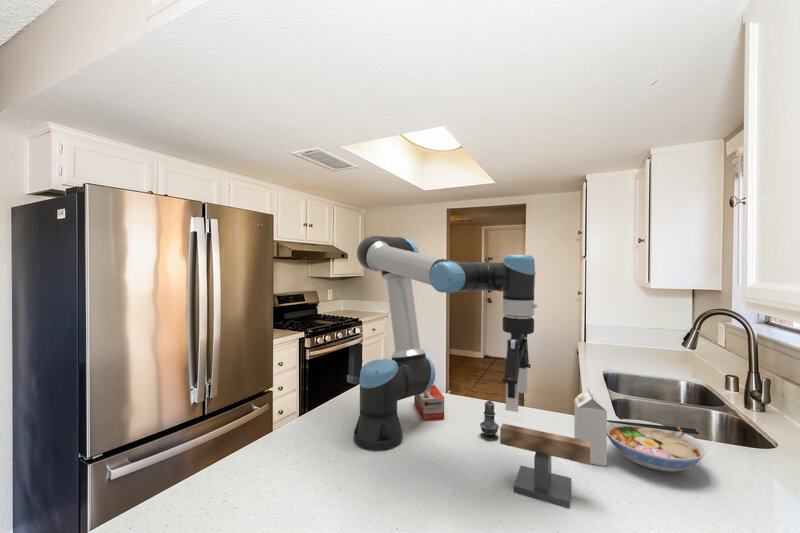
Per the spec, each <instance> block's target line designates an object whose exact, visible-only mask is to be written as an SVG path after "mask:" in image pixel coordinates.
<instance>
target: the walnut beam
mask: <svg viewBox="0 0 800 533" xmlns="http://www.w3.org/2000/svg"><path fill="white" fill-rule="evenodd" d="M499 428H500V430H499V431H500V432H499V433H500V434H499V439H500V440H499V443H500V445H503V446H506V447H507V446H508V447H512V448H515V449H521V450H525V451H530V452H533V453H536V452H537V453H541V454H546V455H550V456H551V457H555V458H559V459H564V460H568V461H572V462H576V463H581V464H585V465H588V466H590V465H591V464H590V441H585V440H581V439H576V438H574V437H570V436H565V435H561V434H556V433H551V432H545V431H541V430H538V429H532V428H527V427H524V426H523V427H522V426H517V425H513V424H509V423H508V424H507V423H502V424H501V426H500V427H499Z"/></svg>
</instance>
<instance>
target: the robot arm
mask: <svg viewBox="0 0 800 533" xmlns="http://www.w3.org/2000/svg"><path fill="white" fill-rule="evenodd" d="M356 258H357V260H358V262H359V264H360V265H361V266H362V267H363V268H364V269H367V270H371V271H374V272H380V273H381V277H382V279H384V280H385V281H386V286H387V293H388V294H387V295H388V302H389V310H390V317H391V328H392V335H393V344H394V352H393V353H392V355H391V359H389V358H382V359H374V360H371V361H368V362H367V363H365V364H364V365H363V366H362V367H361V369H360V372H359V380H358V382H359V414H358V418H357V421H356V425H355V427H354V431H353V442H354V444H355V445H356V446H357V447H359V448H361V449H363V450H367V451H375V452H376V451H377V452H378V451H379V452H380V451H388V450H391V449H393V448H396V447H398V446H399V445H401V443H402V442H403V439H404V438H403V436H404V435H403V433H404V432H403V428H402V424H401V422H400V421H401V420H400V419H399V414H398V401H401V400H404V399H407V398H411V397H414V395H420V394H422V393H423V392H426V391H428V390H429V389H430V388H431V386H432V385H434V383H435V381H436V380H435V379H436V369H435V365H434V362H432V360H431V359H430V358H429V357H427V355H426V351H425V350H424V349H423V348H421V343H420V337H419V336H420V334H419V328H418V321H417V313H416V305H415V296H414V291H413V282H412V281H413V280H414V281H417V282H419V283H420V282H421V283H423V284H425V285H429V286H431V287H432V288H434V289H435V291H436V292H439V293H445V294H454V293H462V292H464V293H465V292H478V291H479V292H480V291H482V292H483V291H490V292H493V291H494V292H502V314H503V315H504V316H503V317H502V330H503V332H505V333H509V334H510V335H511V336H510V339H509V338H508V339H507V342H506V343H507V348H506V350H507V351H506V360H505V370H504V376H503V377H504V378H502V383H504V384H505V411H509V412H515V413H519V393H520V394H525V395H526V394H527V393H528V369H531V366H532V365H531V363H530V359H529V358H530V357H529V347H528V335H531V334H533V333H534V332H535V318H534V317H533V316H534V315H535V309H537V307H538V305H537V304H536V303H535V286H536V284H535V283H536V282H535V280H536V278H535V277H536V269H535V268H536V266H535V264H536V263H535V258H534V257H533V255H531V254H506V255H504V257H503V260H502V262H481V261H479V262H478V261H475V262H474V261H472V262H471V261H469V262H468V261H465V262H464V261H454V260H451V259H450V260H449V259H447V258H446V259H444V258H440V257H436V256H432V255H428V254H423V253H420V251H419V248H418V247H417V245H416V243H415V242H414V241H413V240H411V239H409V238H405V237H402V236H401V237H400V236H398V237H397V236H396V237H395V236H385V235H384V236H381V235H371V236H368V237H366V238H364V239H363V240H361V242H360V243H359V244H358V246H357V249H356Z"/></svg>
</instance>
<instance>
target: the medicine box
mask: <svg viewBox="0 0 800 533" xmlns="http://www.w3.org/2000/svg"><path fill="white" fill-rule="evenodd" d="M413 397H414V400H413V401H414V402H413V403H414V407H415V409H416V412H417V413H418V415H419V417H420V419H421V421H422V422H429V421H430V422H431V421H441V420H442V421H444V420H445V396H444V395H443V394H442V392H441V391H440V390H439V388H438V387H437V386H436V385H435V384H433V385H432V386H431V388H430V389H429V390H428V391H426V392H423V393H422V394H420V395H414V396H413Z"/></svg>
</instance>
